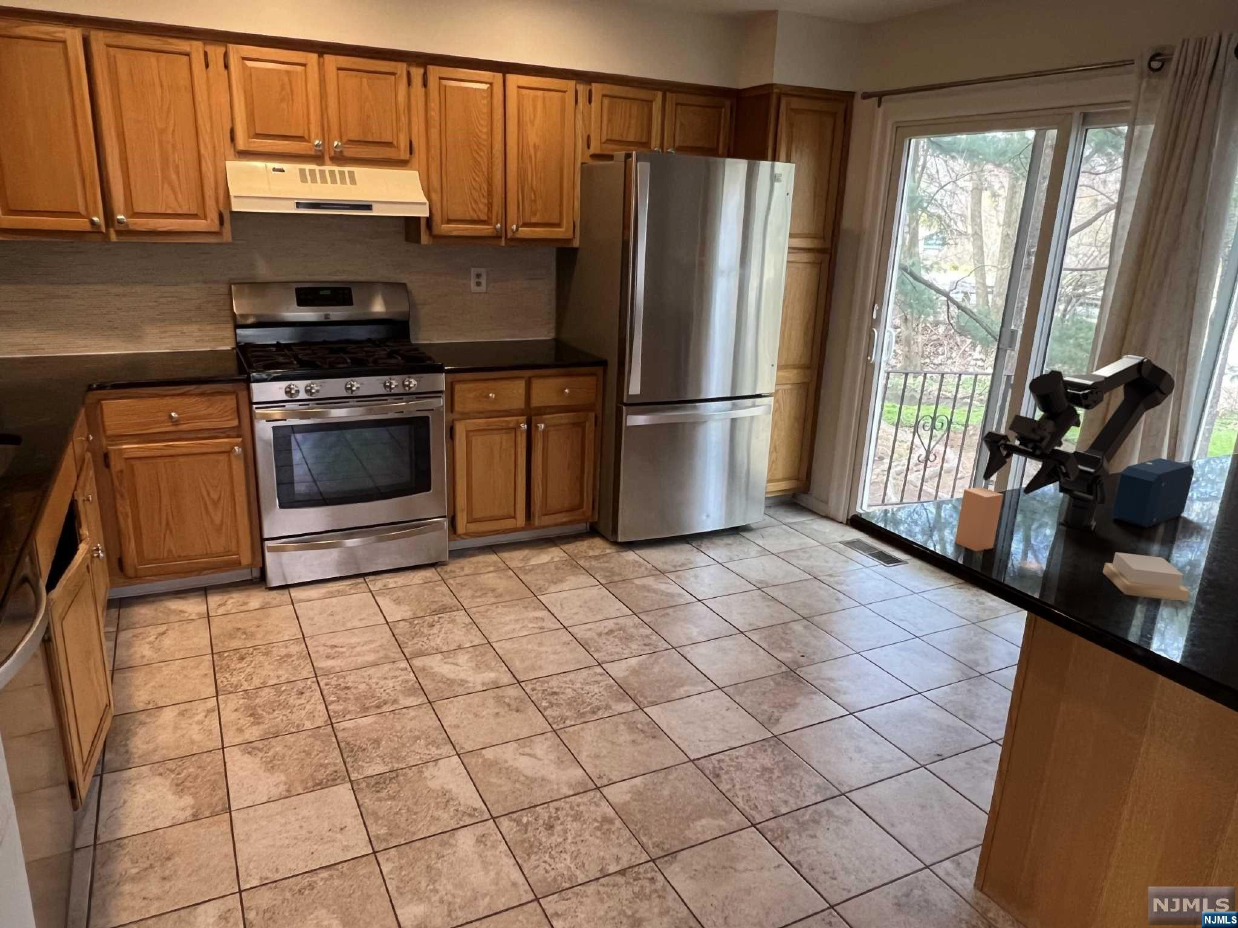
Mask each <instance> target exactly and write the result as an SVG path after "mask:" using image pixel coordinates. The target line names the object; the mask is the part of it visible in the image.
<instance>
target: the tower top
mask: <svg viewBox="0 0 1238 928" xmlns="http://www.w3.org/2000/svg"><path fill="white" fill-rule="evenodd" d="M1112 565H1113V566H1114V567H1115V568H1116V569H1117V570H1118V571H1119V572H1120V573H1121V574H1122V575H1123V576H1124V577H1125V578H1126V579H1127V580H1128V581H1129V582H1132V583H1141V584H1149V585H1157V586H1165V587H1173V588H1180V585H1182V581H1183V577H1184V574H1183V573H1182V572H1180V571H1179V570H1178V569H1177V568H1175V566H1173V565H1172V564H1170V563H1169V562H1168V560H1166V559H1164V558H1163V557H1159V556H1157V557H1156V556H1151V555H1150V556H1149V555H1142V554H1132V553H1125V552H1115V553H1114V555H1113V561H1112Z"/></svg>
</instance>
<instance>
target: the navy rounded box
mask: <svg viewBox="0 0 1238 928" xmlns="http://www.w3.org/2000/svg"><path fill="white" fill-rule="evenodd" d="M1179 432H1180V429H1177V432H1176V436H1175V440H1174V444H1173V448H1172V452H1171V456H1170V459H1165V458H1161V457H1158V458H1155V459H1152V460H1147V461H1144V462H1140V463H1135V464H1131V465H1128V466H1126V467H1125V468H1124V469H1123V470H1121V474H1120V477H1119V482H1118V486H1117V490H1116V493H1115V494H1116V495H1115V500H1114V503H1113V506H1112V507H1113V508H1112V512H1111V516H1112V517H1113V518H1114V519H1115V520H1117V519H1118V521H1121V520H1122V522H1124V521H1125V523H1129V524H1131V523H1132V524H1131V525H1134V524H1135V525H1134V526H1138V525H1139V526H1138V527H1141V526H1142V527H1141V528H1144V527H1145V528H1144V529H1147V528H1150V527H1153V526H1156V525H1158V523H1159V524H1161V523H1164V522H1167V521H1169V520H1172V519H1175V518H1178V517H1179V516H1181V515H1182V514H1184V512H1185V509H1186V505H1187V500H1188V498H1189V493H1190V489H1191V485H1192V483H1193V477H1194V474H1195V469H1194V468H1193V466H1192V465H1191V464H1186V463H1182V462H1178V461H1174V460H1173V456H1174V455H1173V454H1174V451H1175V448H1176V442H1177V439H1178V435H1179ZM1166 520H1167V521H1166ZM1155 524H1156V525H1155ZM1152 525H1153V526H1152ZM1149 526H1150V527H1149Z"/></svg>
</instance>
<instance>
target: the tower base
mask: <svg viewBox="0 0 1238 928" xmlns="http://www.w3.org/2000/svg"><path fill="white" fill-rule="evenodd" d="M1112 564H1113V562H1111V563H1110V562H1105V563H1104V567H1103V570H1102V573H1103V574H1104V575H1105V576H1106V578H1107V579H1109V580H1110V581H1111V582H1112V583H1113V584H1114V585H1115V586H1116V587H1117V588H1118V589H1119V590H1120V591H1121V592H1122V593H1123V594H1124V595H1127V596H1133V597H1134V596H1135V597H1142V598H1153V599H1162V600H1171V601H1177V600H1182V601H1181V602H1186V601H1187V602H1188V601H1189V600H1188V598H1189V596H1190V590H1189V589H1188V588H1186V587H1185V586H1184V585H1183V584H1181V585H1180V588H1173V587H1165V586H1157V585H1149V584H1141V583H1132V582H1129V581H1128V580H1127V579H1126V578H1125V577H1124V576H1123V575H1122V574H1121V573H1120V572H1119V571H1118V570H1117V569H1116V568H1115V567H1114V566H1113V565H1112Z"/></svg>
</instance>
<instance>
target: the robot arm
mask: <svg viewBox="0 0 1238 928" xmlns="http://www.w3.org/2000/svg"><path fill="white" fill-rule="evenodd" d="M1175 383H1176V382H1175V380H1174V379H1173V377H1172V375H1171V373H1169V372H1168V371H1166V370H1165V369H1163V368H1162V367H1160V366H1158V365H1157V364H1154V362H1153V361H1152V360H1151V359H1149V358H1148V357H1145V356H1139V355H1134V354H1127V355H1126V354H1125V355H1123V356H1122V357H1121V358H1120V359H1119V360H1117V361H1114V362H1113V363H1112V362H1111V363H1110V364H1108V365H1107V366H1104V367H1102V368H1100V369H1098V370H1095V371H1094V372H1092V373H1088V374H1087V373H1086V374H1074V375H1069V376H1065V377H1064V374H1063V373H1062V371H1061V370H1057V369H1051V370H1050V371H1049V372H1048V373H1043V374H1039V375H1038V376H1036V377H1035V378H1032V379H1031V380H1030V382H1029V385H1028V389H1029V392H1030V395H1031V397H1032V398H1033V401H1034V403H1035V405H1036V407H1037V409H1038V410H1039V412H1042V414H1041V416H1040V417H1039V418H1038V419H1035V418H1032V417H1028V416H1025V415H1020V414H1014V416H1013V418H1012V420H1011V423H1010V425H1009V426H1008V431H1011V432H1013V433H1014V434H1016V435H1015V436H1014V438H1015V440H1016V441H1017V442H1019V443H1018V444H1016V443H1013V442H1012V441H1011V439H1010V438H1009V436H1008V434H1005V433H1002V432H998V431H995V430H988V431H987V432H986V433H985V434H984V436H983V437H982V438H981V439H982V441H983V444H984V445H985V446H986V449H987V450H988V460H987V462H986V466H985V469H984V472H983V476H982V479H983V480H984V481H989V479H991V478H992V477H994V475H996V474H997V472H999V471H1000V470H1001V469H1002V468H1003V467H1005V466H1006V465H1007V463H1008V461H1007V460H1009V459H1010V458H1011V457H1012V456H1013V455H1017V456H1019V457H1022V458H1026V459H1029V460H1032V461H1034V462H1039V463H1041V466H1040V467H1039V469H1038V471H1037V472H1036V473H1035V474H1034V476H1033V477H1032V478H1031V479H1030V481H1028V483H1027V484H1026V486H1025V487H1024V489H1023V490H1022V491H1023V494H1025V495H1029V494H1031V493H1034V492H1036V491H1038V490H1040V489H1042V488H1045V487H1047V486H1050V485H1052V484H1053V485H1054V484H1056V483H1058V493H1060V494H1064V495H1066V496H1067V500H1066V503H1065V508H1064V512H1063V513H1064V514H1062V516H1061V517H1060V519H1059V521H1058V524H1059V525H1062V526H1065V527H1071V528H1075V529H1081V530H1083V531H1089V532H1092V531H1094V528H1095V526H1096V523H1097V522H1096V521H1095V520H1094V519H1095V515H1096V511H1097V506H1098V505H1107V503H1108V502H1109V501H1110V499H1111V496H1112V494H1113V492H1112V490H1111V487H1110V485H1109V483H1108V480H1109V479H1110V478H1109V477H1110V468H1109V463H1111V461H1112V459H1113V458H1115V457H1114V456H1115V455H1116V454H1117V452H1118V451H1119V450H1120V448H1121V447H1122V446H1123V444H1124V442H1125V441H1126V440H1127V439H1128V437H1129V436H1130V434H1131V433H1132V431H1133V430H1134V429H1135V427H1136V426H1137V424H1138V423H1139V421H1140V420H1141V418H1142V417H1143V416H1144V415H1145V414H1146V412H1148V411H1150V410H1153V409H1154V408H1156V407H1159V406H1160V405H1162V403H1163V402H1165V400H1167V398H1168V397H1169V395H1171V394H1172V393H1173V391H1174V389H1175V386H1176V384H1175ZM1121 386H1122V390H1123V391H1122V392H1123V399H1122V401H1120V404H1119V405H1118V406H1117V407H1116V408H1115V410H1114V411H1113V413H1112V414H1111V415H1110V417H1109V419H1107V422H1106V423H1105V424H1104V426H1103V427H1102V428H1101V429H1100V431H1099V432H1098V433H1097V435H1096V436H1095V438H1094V440H1093V441H1092V442H1091V444H1090V445H1089V447H1087V449H1086V450H1084V451H1079V450H1074V451H1073V452H1070V451H1067V450H1063V449H1061V447H1062V446H1063V445H1064V443H1063V441H1062V440H1063V438H1064V437H1065V436H1066V434H1067V433H1069V431H1070V430H1071V428H1072V427H1075V428H1080V427H1081V424H1082V423H1081V422H1082V421H1081V418H1080V417H1081V414H1080V413H1079V412H1078V410H1077V408H1078V409H1083V410H1086V411H1090V410H1093V409H1095V408H1096V407H1098V406H1099V405H1100V404H1101V403H1103V402H1104V401H1105V400H1104V399H1105V395H1106V394H1108V393H1110V392H1112V391H1115V389H1118V388H1119V387H1121Z"/></svg>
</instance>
